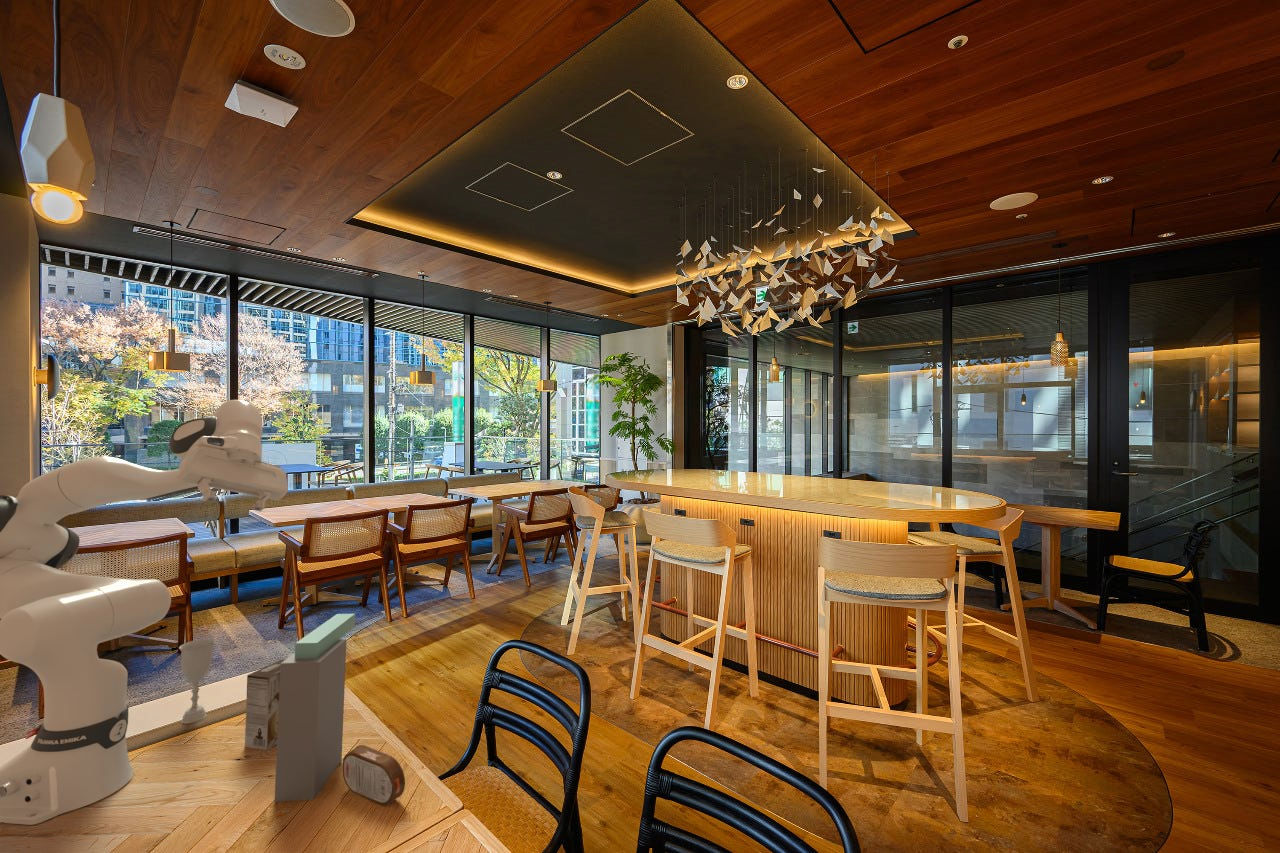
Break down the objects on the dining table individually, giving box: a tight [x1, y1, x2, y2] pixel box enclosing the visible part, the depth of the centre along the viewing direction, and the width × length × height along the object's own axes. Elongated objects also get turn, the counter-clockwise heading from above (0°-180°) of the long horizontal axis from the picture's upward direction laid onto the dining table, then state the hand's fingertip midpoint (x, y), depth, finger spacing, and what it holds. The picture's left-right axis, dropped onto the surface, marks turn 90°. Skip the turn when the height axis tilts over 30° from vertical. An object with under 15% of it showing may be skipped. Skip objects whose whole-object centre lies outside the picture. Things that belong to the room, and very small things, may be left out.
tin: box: [342, 744, 406, 806], centre depth 101 cm, size 15×3×8 cm, turn 65°
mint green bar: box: [294, 613, 356, 659], centre depth 111 cm, size 4×18×3 cm, turn 7°
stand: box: [273, 638, 347, 803], centre depth 106 cm, size 7×12×26 cm, turn 7°
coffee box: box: [244, 659, 286, 751], centre depth 120 cm, size 9×6×16 cm
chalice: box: [178, 638, 217, 724], centre depth 128 cm, size 7×7×18 cm
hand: (234, 504), depth 111 cm, fingers open, 8 cm apart
